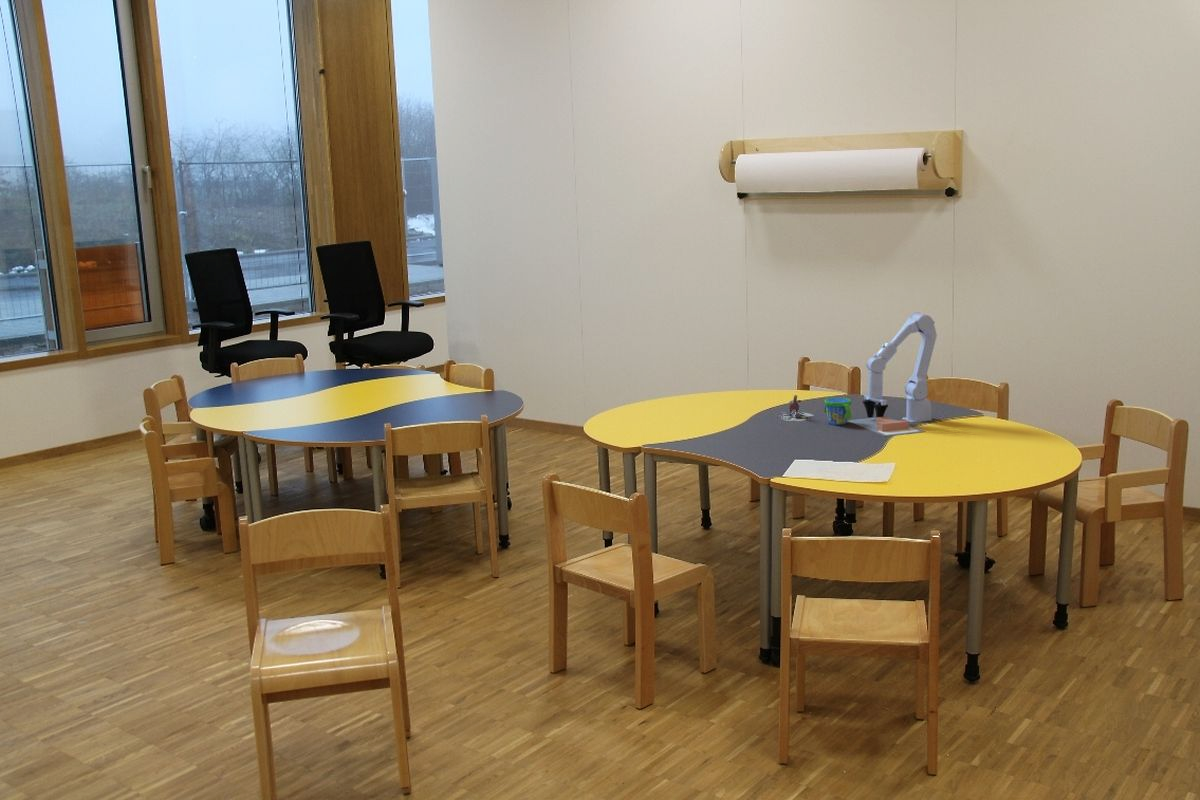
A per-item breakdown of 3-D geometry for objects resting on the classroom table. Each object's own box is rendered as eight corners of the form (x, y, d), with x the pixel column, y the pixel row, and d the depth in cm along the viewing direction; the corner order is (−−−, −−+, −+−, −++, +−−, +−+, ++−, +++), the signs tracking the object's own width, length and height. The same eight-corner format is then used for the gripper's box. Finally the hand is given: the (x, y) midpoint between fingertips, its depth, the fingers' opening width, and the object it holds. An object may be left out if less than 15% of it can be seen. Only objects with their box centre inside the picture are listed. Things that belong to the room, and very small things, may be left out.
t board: (885, 417, 474) (885, 416, 474) (925, 432, 446) (925, 431, 446) (846, 421, 469) (846, 420, 469) (885, 436, 441) (885, 435, 441)
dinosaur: (818, 421, 472) (818, 395, 470) (775, 422, 473) (775, 396, 471) (811, 412, 490) (811, 387, 488) (770, 413, 491) (769, 388, 488)
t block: (893, 422, 462) (893, 415, 462) (909, 428, 451) (909, 421, 450) (867, 425, 459) (867, 418, 459) (882, 431, 448) (882, 424, 447)
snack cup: (858, 426, 459) (858, 402, 457) (835, 429, 456) (835, 404, 454) (839, 419, 474) (839, 395, 471) (816, 421, 471) (817, 397, 468)
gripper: (857, 384, 468) (857, 416, 471) (875, 390, 454) (875, 423, 457) (873, 383, 470) (872, 415, 472) (891, 389, 456) (890, 422, 459)
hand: (874, 419), depth 465 cm, fingers open, 7 cm apart
